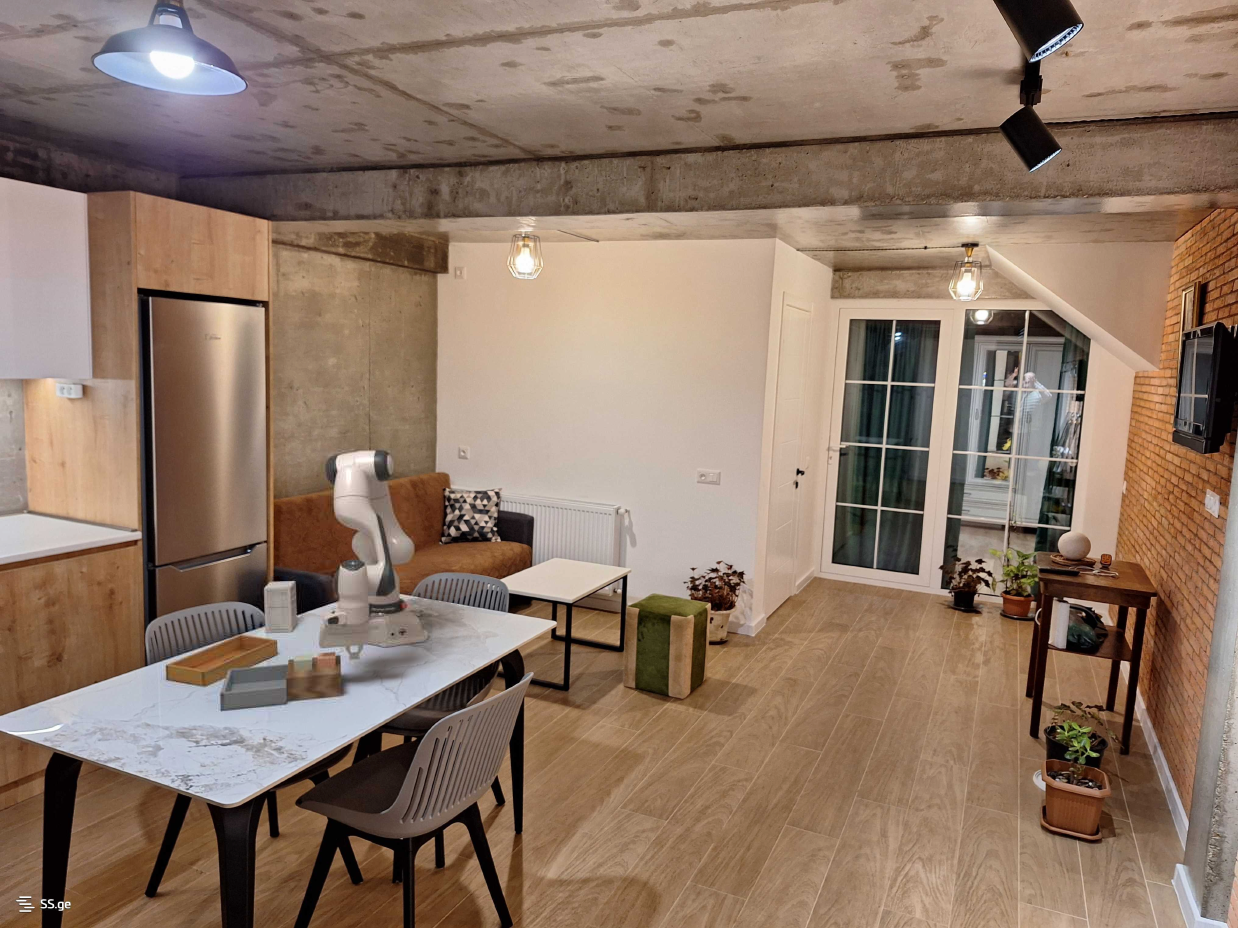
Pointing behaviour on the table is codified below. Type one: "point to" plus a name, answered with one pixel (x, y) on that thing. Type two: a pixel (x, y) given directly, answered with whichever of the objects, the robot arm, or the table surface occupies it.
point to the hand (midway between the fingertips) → (354, 658)
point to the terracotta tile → (326, 660)
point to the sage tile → (303, 662)
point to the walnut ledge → (313, 681)
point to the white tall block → (280, 607)
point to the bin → (254, 687)
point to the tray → (220, 660)
